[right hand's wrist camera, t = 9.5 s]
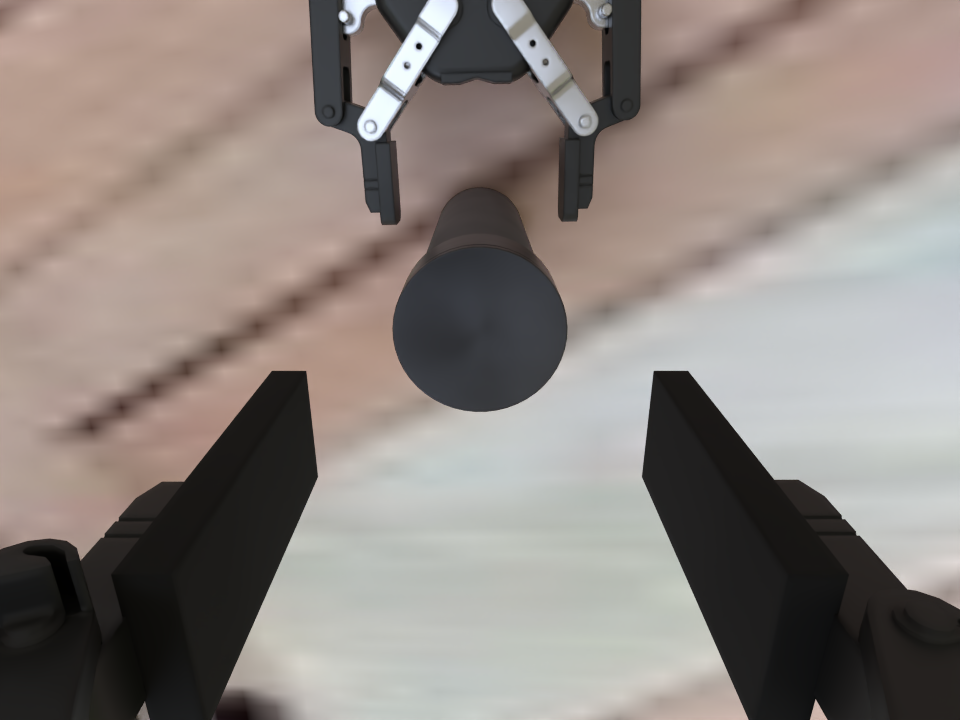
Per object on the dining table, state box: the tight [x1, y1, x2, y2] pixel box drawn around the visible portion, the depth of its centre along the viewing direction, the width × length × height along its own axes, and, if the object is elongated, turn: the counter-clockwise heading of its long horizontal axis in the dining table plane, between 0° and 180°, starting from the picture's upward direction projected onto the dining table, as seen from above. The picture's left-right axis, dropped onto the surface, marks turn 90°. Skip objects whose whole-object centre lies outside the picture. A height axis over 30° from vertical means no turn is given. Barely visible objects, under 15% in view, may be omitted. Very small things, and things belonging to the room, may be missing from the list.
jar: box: [427, 188, 533, 253], centre depth 29 cm, size 5×5×18 cm
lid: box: [393, 234, 567, 412], centre depth 21 cm, size 6×6×2 cm
